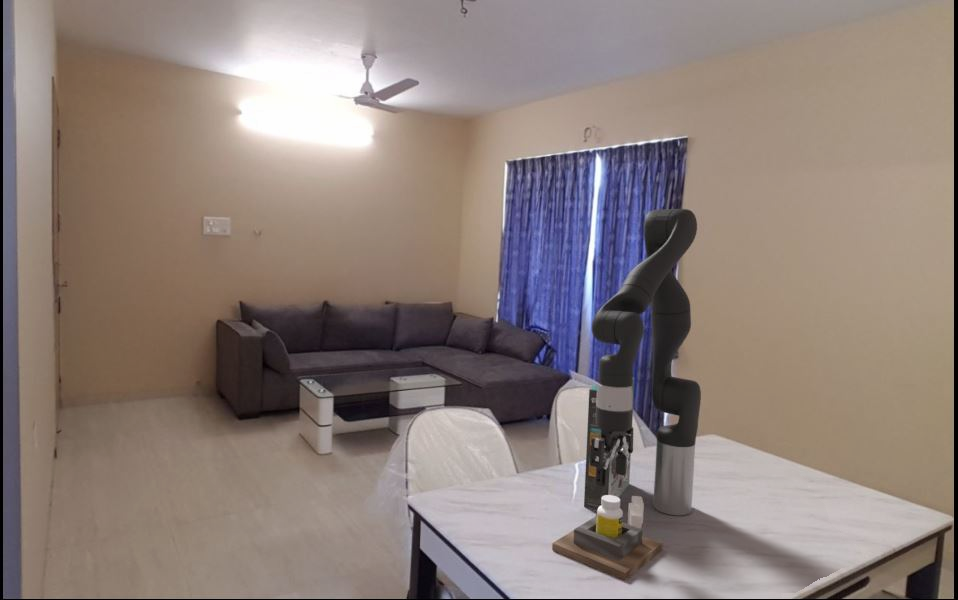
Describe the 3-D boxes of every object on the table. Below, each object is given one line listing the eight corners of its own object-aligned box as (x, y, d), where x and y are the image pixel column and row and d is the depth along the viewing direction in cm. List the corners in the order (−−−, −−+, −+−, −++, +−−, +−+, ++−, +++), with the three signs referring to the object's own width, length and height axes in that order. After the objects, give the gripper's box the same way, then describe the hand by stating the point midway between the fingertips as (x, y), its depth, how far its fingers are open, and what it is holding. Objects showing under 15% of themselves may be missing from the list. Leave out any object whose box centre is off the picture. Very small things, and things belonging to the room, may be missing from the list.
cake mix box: (607, 479, 168) (613, 375, 166) (629, 483, 165) (634, 377, 163) (583, 506, 149) (589, 389, 147) (607, 512, 146) (613, 392, 144)
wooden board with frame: (593, 524, 139) (594, 505, 138) (662, 549, 128) (663, 529, 127) (552, 549, 126) (553, 529, 126) (624, 580, 115) (626, 558, 115)
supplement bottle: (621, 550, 124) (624, 505, 123) (595, 547, 125) (597, 502, 124) (620, 538, 129) (623, 495, 128) (595, 535, 130) (597, 492, 129)
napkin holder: (641, 545, 130) (642, 520, 130) (598, 527, 138) (599, 503, 138) (676, 526, 140) (677, 503, 140) (634, 510, 149) (635, 488, 148)
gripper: (613, 415, 117) (610, 494, 118) (646, 402, 127) (642, 475, 129) (581, 407, 122) (578, 484, 123) (614, 396, 132) (611, 466, 134)
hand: (611, 479), depth 126 cm, fingers open, 8 cm apart
